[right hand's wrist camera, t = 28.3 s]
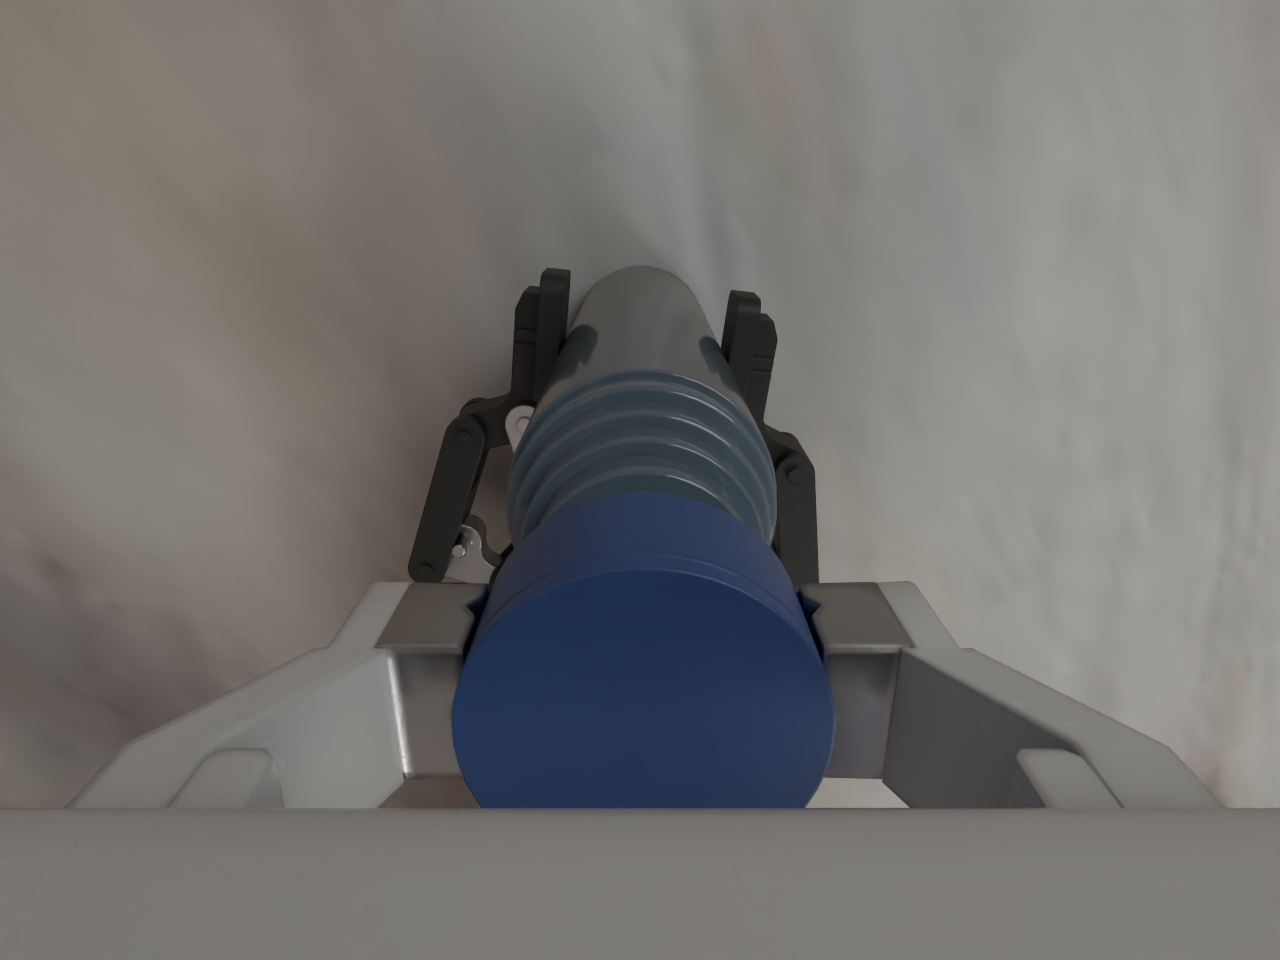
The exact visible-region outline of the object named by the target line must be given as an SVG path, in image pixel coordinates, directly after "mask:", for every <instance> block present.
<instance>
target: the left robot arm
mask: <svg viewBox="0 0 1280 960" xmlns="http://www.w3.org/2000/svg"><path fill="white" fill-rule="evenodd" d="M569 290H570V270H563V269H555V268H546V269H545V270H544V271H543V272H542V275H541V280H540V287H537V286H529V287H528V288H527V289H526V290H525V291H524V292H523V294H522V296H521V298H520V300H519V302H518V304H517V306H516V309H515V325H514V327H515V329H514V344H513V363H512V382H511V391H510V392H509V393H507V394H505V395H503V396H500V397H496V398H491V399H485V398H474V399H471V400H469V401H468V402H467V403H466V404H465V405H464V406H463V408H462V409H461V411H460V414H459V415H458V417H456V418H455V419H454V420H453V421H452V422H451V423H450V425H449V426H448V427H447V429H446V432H445V435H444V439H443V443H442V446H441V450H440V453H439V457H438V460H437V464H436V468H435V471H434V475H433V478H432V482H431V485H430V489H429V493H428V496H427V500H426V503H425V507H424V510H423V514H422V518H421V521H420V525H419V528H418V532H417V535H416V539H415V543H414V546H413V550H412V553H411V557H410V560H409V564H408V572H409V575H410V577H411V578H412V579H413V580H414V581H415V582H441V581H442V580H443V578H444V576H446V577H449V578H452V579H456V580H459V581H462V582H465V583H490V585H491V588H492V586H493V584H494V582H495V579H496V577H497V574H498V573H499V571H500V569H501V568H502V566H503V564H504V563H505V561H506V559H507V558H508V556H509V555H510V554H511V553H512V552H513V550H514V546H513V543H511V544H510V545H509V546H508V547H507V548H506V549H505V550H504V551H503V552H502V553H501V554H500V555H499V554H497V553H495V552H493V551H492V550H491V549H490V548H489V546H488V544H487V541H486V534H487V529H486V525H485V523H484V522H483V521H482V519H480V518H479V517H477V516H476V515H473V514H470V511H471V508H472V504H473V501H474V498H475V494H476V491H477V488H478V485H479V481H480V478H481V475H482V471H483V468H484V465H485V462H486V458H487V455H488V452H489V449H490V448H493V447H498V446H502V445H506V444H511V447H512V450H513V453H515V450H516V448H517V446H518V443H519V441H520V439H521V437H522V435H523V432H524V430H525V428H526V426H527V424H528V422H529V419H530V417H531V415H532V413H533V411H534V408H535V406H536V404H537V402H538V400H539V398H540V395H541V393H542V391H543V389H544V387H545V384H546V382H547V380H548V378H549V376H550V374H551V371H552V369H553V367H554V365H555V363H556V360H557V358H558V356H559V354H560V352H561V350H562V347H563V345H564V343H565V341H566V328H567V316H568V303H569ZM760 310H761V300H760V298H759V297H758V296H757V295H756V294H755V293H753V292H745V291H736V290H731V292H730V295H729V299H728V305H727V312H726V318H725V325H724V331H723V338H722V344H721V350H722V353H723V355H724V357H725V359H726V361H727V363H728V365H729V367H730V369H731V372H732V374H733V376H734V378H735V380H736V382H737V384H738V386H739V388H740V390H741V393H742V395H743V397H744V399H745V401H746V403H747V405H748V407H749V409H750V412H751V414H752V416H753V418H754V420H755V422H756V424H757V426H758V428H759V431H760V433H761V435H762V437H763V439H764V441H765V444H766V446H767V448H768V450H769V453H770V455H771V459H772V463H773V466H774V470H775V477H776V485H777V496H776V499H777V519H776V525H775V532H774V536H773V539H772V543H771V546H770V548H771V549H772V550H773V552H774V553H775V554H776V555H777V557H778V558H779V559H780V561H781V562H782V564H783V566H784V568H785V569H786V571H787V573H788V575H789V577H790V579H791V581H792V584H793V587H794V585H797V584H807V583H819V571H818V545H817V518H816V492H815V471H814V467H813V465H812V463H811V462H810V460H809V458H808V456H807V455H806V453H805V451H804V450H803V448H802V446H801V445H800V443H799V442H798V440H797V438H796V437H795V436H794V435H792V434H790V433H787V432H779V431H777V430H775V429H773V428H771V427H769V426H768V425H766V424H765V423H764V421H763V418H764V411H765V406H766V400H767V395H768V389H769V383H770V378H771V371H772V367H773V361H774V356H775V350H776V345H777V335H776V330H775V325H774V321H773V320H772V319H771V318H770V317H769V316H768V315H767V314H763V313H760Z"/></svg>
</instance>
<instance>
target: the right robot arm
mask: <svg viewBox="0 0 1280 960" xmlns="http://www.w3.org/2000/svg"><path fill="white" fill-rule="evenodd" d="M491 589H492V588H491V585H490V583H440V582H415V583H413V582H412V581H399V582H375V583H371V584H370V585H369V587H368V588H367V590H366V591H365V593H364V594H363V596H362V597H361V599H360V600H359V602H358V603H357V605H356V606H355V607H354V609H353V610H352V612H351V613H350V615H349V616H348V618H347V619H346V621H345V622H344V624H343V625H342V627H341V628H340V630H339V631H338V633H337V634H336V636H335V637H334V639H333V640H332V642H331V643H330V645H329V646H328V647H327V648H314V649H313V650H311V651H309V652H307V653H305V654H303V655H301V656H299V657H297V658H295V659H293V660H291V661H289V662H287V663H285V664H283V665H281V666H279V667H277V668H275V669H273V670H271V671H269V672H267V673H265V674H263V675H261V676H259V677H257V678H255V679H253V680H251V681H249V682H247V683H245V684H243V685H241V686H239V687H237V688H235V689H233V690H231V691H229V692H227V693H225V694H223V695H221V696H219V697H217V698H215V699H213V700H211V701H209V702H207V703H205V704H203V705H201V706H199V707H197V708H195V709H193V710H191V711H189V712H187V713H185V714H183V715H181V716H179V717H177V718H175V719H173V720H171V721H169V722H167V723H165V724H163V725H161V726H159V727H157V728H155V729H153V730H151V731H149V732H147V733H145V734H143V735H141V736H139V737H138V738H136V739H134V740H132V741H130V742H128V743H126V744H124V745H122V746H121V747H120V748H119V749H118V750H117V751H116V752H115V753H114V754H113V756H112V757H111V758H110V759H109V760H108V761H107V762H106V763H105V764H104V765H103V766H102V767H101V769H100V770H99V771H98V772H97V773H96V774H95V775H94V776H93V777H92V778H91V779H90V780H89V782H88V783H87V784H86V785H85V786H84V787H83V788H82V789H81V790H80V791H79V792H78V794H77V795H76V796H75V797H74V798H73V799H72V800H71V801H70V802H69V803H68V804H67V805H66V807H65V808H0V960H1280V808H1225V807H1224V806H1223V805H1222V803H1221V802H1220V801H1219V800H1218V799H1217V798H1216V797H1215V796H1214V795H1213V794H1212V793H1211V792H1210V791H1209V789H1208V788H1207V787H1206V786H1205V785H1204V784H1203V783H1202V782H1201V781H1200V780H1199V779H1198V778H1197V777H1196V775H1195V774H1194V773H1193V772H1192V771H1191V770H1190V769H1189V768H1188V767H1187V766H1186V765H1185V764H1184V763H1183V761H1182V760H1181V759H1180V758H1179V757H1178V756H1177V755H1176V754H1175V753H1174V752H1173V751H1172V750H1171V749H1170V748H1169V746H1167V745H1165V744H1163V743H1161V742H1159V741H1157V740H1155V739H1153V738H1151V737H1149V736H1147V735H1145V734H1143V733H1141V732H1139V731H1137V730H1135V729H1133V728H1131V727H1129V726H1127V725H1125V724H1123V723H1121V722H1119V721H1117V720H1115V719H1113V718H1111V717H1109V716H1107V715H1105V714H1103V713H1101V712H1099V711H1097V710H1095V709H1093V708H1091V707H1089V706H1087V705H1085V704H1083V703H1081V702H1079V701H1077V700H1075V699H1073V698H1071V697H1069V696H1067V695H1065V694H1063V693H1061V692H1059V691H1057V690H1055V689H1053V688H1051V687H1049V686H1047V685H1045V684H1043V683H1041V682H1039V681H1037V680H1035V679H1033V678H1031V677H1029V676H1027V675H1025V674H1023V673H1021V672H1019V671H1017V670H1015V669H1013V668H1011V667H1009V666H1007V665H1005V664H1003V663H1001V662H999V661H997V660H995V659H993V658H991V657H989V656H987V655H985V654H983V653H981V652H979V651H977V650H975V649H973V648H960V647H959V646H958V645H957V643H956V642H955V640H954V639H953V637H952V636H951V635H950V633H949V632H948V630H947V629H946V627H945V626H944V625H943V623H942V622H941V620H940V619H939V617H938V616H937V615H936V613H935V612H934V610H933V609H932V607H931V606H930V605H929V603H928V602H927V600H926V599H925V597H924V596H923V594H922V593H921V592H920V590H919V589H918V587H917V586H916V584H914V583H912V582H910V581H898V582H876V583H875V582H849V583H807V584H797V585H794V589H795V592H796V595H797V597H798V600H799V603H800V605H801V608H802V611H803V613H804V616H805V619H806V621H807V624H808V627H809V629H810V632H811V635H812V637H813V640H814V642H815V645H816V648H817V651H818V653H819V656H820V658H821V661H822V664H823V666H824V669H825V672H826V675H827V677H828V680H829V683H830V686H831V689H832V694H833V699H834V705H835V720H836V731H835V738H834V745H833V751H832V754H831V758H830V761H829V764H828V767H827V771H826V773H825V775H824V777H827V778H864V779H883V781H882V782H883V783H884V784H885V785H886V786H887V787H888V788H889V789H890V790H891V791H893V792H894V793H895V794H896V795H897V796H898V797H899V798H900V799H901V800H902V801H903V802H904V803H906V804H907V805H908V806H909V807H910V808H377V807H378V806H380V805H381V804H382V803H383V802H384V801H385V800H386V799H387V798H388V797H389V796H390V795H391V794H392V793H393V792H395V791H396V790H397V789H398V788H399V787H400V786H401V785H402V784H403V783H404V779H422V778H458V777H463V775H462V773H461V770H460V768H459V766H458V762H457V758H456V754H455V750H454V746H453V740H452V729H451V717H452V703H453V699H454V695H455V690H456V686H457V682H458V679H459V677H460V674H461V671H462V668H463V666H464V663H465V660H466V657H467V655H468V652H469V649H470V646H471V644H472V641H473V638H474V635H475V633H476V630H477V627H478V624H479V622H480V619H481V616H482V613H483V611H484V608H485V605H486V602H487V599H488V597H489V594H490V591H491Z"/></svg>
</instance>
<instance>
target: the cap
mask: <svg viewBox="0 0 1280 960" xmlns="http://www.w3.org/2000/svg"><path fill="white" fill-rule="evenodd" d="M451 729H452V740H453V746H454V750H455V754H456V758H457V762H458V766H459V768H460V770H461V773H462V775H463V777H464V780H465V782H466V784H467V786H468V788H469V789H470V791H471V793H472V794H473V796H474V797H475V799H476V801H477V802H478V803H479V805H480V806H481V807H482V808H805V807H806V806H807V804H808V803H809V801H810V800H811V798H812V797H813V795H814V794H815V792H816V791H817V789H818V787H819V785H820V783H821V781H822V779H823V777H824V775H825V773H826V771H827V767H828V764H829V761H830V758H831V754H832V751H833V745H834V738H835V731H836V720H835V705H834V699H833V694H832V689H831V686H830V683H829V680H828V677H827V675H826V672H825V669H824V666H823V664H822V661H821V658H820V656H819V653H818V651H817V648H816V645H815V642H814V640H813V637H812V635H811V632H810V629H809V627H808V624H807V621H806V619H805V616H804V613H803V611H802V608H801V605H800V603H799V600H798V597H797V595H796V592H795V589H794V587H793V584H792V581H791V579H790V577H789V575H788V573H787V571H786V569H785V568H784V566H783V564H782V562H781V561H780V559H779V558H778V557H777V555H776V554H775V553H774V552H773V550H772V549H771V548H770V546H769V545H768V544H767V543H766V542H765V541H764V540H763V539H762V538H761V537H760V536H759V535H758V534H757V533H756V532H754V531H753V530H752V529H750V528H749V527H748V526H746V525H745V524H744V523H742V522H741V521H740V520H738V519H737V518H735V517H733V516H731V515H729V514H728V513H726V512H724V511H722V510H721V509H718V508H716V507H713V506H711V505H708V504H706V503H703V502H701V501H697V500H693V499H690V498H686V497H682V496H678V495H670V494H663V493H647V492H633V493H622V494H614V495H609V496H605V497H600V498H596V499H592V500H589V501H586V502H583V503H581V504H578V505H575V506H572V507H570V508H568V509H566V510H564V511H562V512H560V513H558V514H556V515H555V516H553V517H551V518H550V519H548V520H547V521H545V522H544V523H542V524H541V525H540V526H538V527H537V528H535V529H534V530H533V531H532V532H531V533H530V534H529V535H528V536H526V537H525V538H524V539H523V540H522V541H521V542H520V543H519V544H518V545H517V547H516V548H515V549H514V550H513V552H512V553H511V554H510V555H509V556H508V558H507V559H506V561H505V563H504V564H503V566H502V568H501V569H500V571H499V573H498V574H497V577H496V579H495V582H494V584H493V586H492V589H491V591H490V594H489V597H488V599H487V602H486V605H485V608H484V611H483V613H482V616H481V619H480V622H479V624H478V627H477V630H476V633H475V635H474V638H473V641H472V644H471V646H470V649H469V652H468V655H467V657H466V660H465V663H464V666H463V668H462V671H461V674H460V677H459V679H458V682H457V686H456V690H455V695H454V699H453V703H452V717H451Z"/></svg>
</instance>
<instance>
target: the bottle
mask: <svg viewBox="0 0 1280 960" xmlns="http://www.w3.org/2000/svg"><path fill="white" fill-rule="evenodd" d="M633 492H647V493H663V494H670V495H678V496H682V497H686V498H690V499H693V500H697V501H701V502H703V503H706V504H708V505H711V506H713V507H716V508H718V509H721V510H722V511H724V512H726V513H728V514H729V515H731V516H733V517H735V518H737V519H738V520H740V521H741V522H742V523H744V524H745V525H746V526H748V527H749V528H750V529H752V530H753V531H754V532H756V533H757V534H758V535H759V536H760V537H761V538H762V539H763V540H764V541H765V542H766V543H767V544H768V545H769V546H771V543H772V539H773V536H774V532H775V525H776V519H777V499H776V496H777V485H776V477H775V470H774V466H773V463H772V459H771V455H770V453H769V450H768V448H767V446H766V444H765V441H764V439H763V437H762V435H761V433H760V431H759V428H758V426H757V424H756V422H755V420H754V418H753V416H752V414H751V412H750V409H749V407H748V405H747V403H746V401H745V399H744V397H743V395H742V393H741V390H740V388H739V386H738V384H737V382H736V380H735V378H734V376H733V374H732V372H731V369H730V367H729V365H728V363H727V361H726V359H725V357H724V355H723V353H722V350H721V348H720V346H719V344H718V342H717V340H716V338H715V336H714V334H713V332H712V329H711V327H710V325H709V323H708V321H707V319H706V317H705V315H704V313H703V310H702V308H701V306H700V304H699V302H698V300H697V298H696V297H695V295H694V293H693V292H692V291H691V290H690V288H689V287H688V286H687V285H686V284H685V283H684V282H683V281H682V280H680V279H679V278H677V277H676V276H675V275H673V274H671V273H669V272H667V271H664V270H662V269H659V268H654V267H649V266H633V267H627V268H623V269H620V270H617V271H615V272H613V273H611V274H609V275H607V276H606V277H604V278H603V279H602V280H600V281H599V282H598V283H597V284H596V285H595V286H594V287H593V288H592V289H591V291H590V292H589V293H588V295H587V296H586V298H585V300H584V302H583V304H582V306H581V308H580V310H579V313H578V315H577V317H576V319H575V321H574V323H573V326H572V328H571V330H570V332H569V334H568V337H567V339H566V341H565V343H564V345H563V347H562V350H561V352H560V354H559V356H558V358H557V360H556V363H555V365H554V367H553V369H552V371H551V374H550V376H549V378H548V380H547V382H546V384H545V387H544V389H543V391H542V393H541V395H540V398H539V400H538V402H537V404H536V406H535V408H534V411H533V413H532V415H531V417H530V419H529V422H528V424H527V426H526V428H525V430H524V432H523V435H522V437H521V439H520V441H519V443H518V446H517V448H516V450H515V453H514V456H513V459H512V462H511V465H510V471H509V477H508V486H507V517H508V525H509V532H510V535H511V539H512V543H513V546H514V549H515V548H516V547H517V545H518V544H519V543H520V542H521V541H522V540H523V539H524V538H525V537H526V536H528V535H529V534H530V533H531V532H532V531H533V530H534V529H535V528H537V527H538V526H540V525H541V524H542V523H544V522H545V521H547V520H548V519H550V518H551V517H553V516H555V515H556V514H558V513H560V512H562V511H564V510H566V509H568V508H570V507H572V506H575V505H578V504H581V503H583V502H586V501H589V500H592V499H596V498H600V497H605V496H609V495H614V494H622V493H633Z"/></svg>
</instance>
